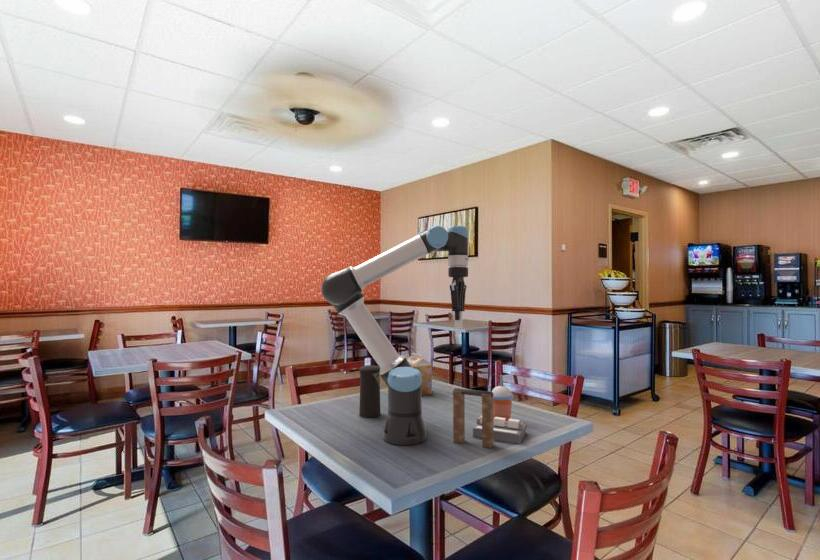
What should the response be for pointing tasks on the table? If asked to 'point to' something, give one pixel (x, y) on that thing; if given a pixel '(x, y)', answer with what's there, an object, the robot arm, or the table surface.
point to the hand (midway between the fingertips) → (458, 328)
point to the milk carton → (422, 371)
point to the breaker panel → (503, 432)
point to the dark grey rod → (473, 392)
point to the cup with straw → (502, 401)
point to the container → (369, 391)
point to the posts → (460, 419)
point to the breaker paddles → (504, 422)
